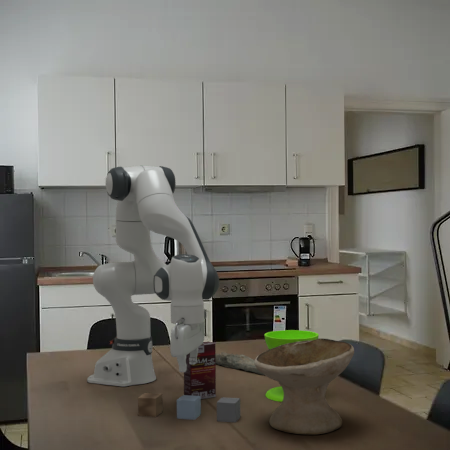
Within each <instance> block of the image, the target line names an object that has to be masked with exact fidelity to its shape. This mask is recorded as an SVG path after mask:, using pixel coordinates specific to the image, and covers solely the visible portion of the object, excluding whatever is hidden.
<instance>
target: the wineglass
mask: <svg viewBox="0 0 450 450" xmlns="http://www.w3.org/2000/svg"><path fill="white" fill-rule="evenodd" d="M319 335H320V334H319V333H318V332H316V331H309V330H298V329H296V330H295V329H288V330H287V329H285V330H283V329H282V330H274V331H273V330H272V331H268V332H266V333H264V335H263V336H264V341H265V343H266V346H267V350H269V349H272V348H275V347H278V346H280V345H283V344H287V343H293V342H299V341H306V340H309V341H311V340H316V339H319ZM265 398H267V399H268V400H271V401H273V402H280V403H282V401H283V398H284V392H283V388H282V386H281V385H280V386H275V387H273V388H269V389H268V390H267V391H266V393H265Z"/></svg>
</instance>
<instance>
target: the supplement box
mask: <svg viewBox="0 0 450 450" xmlns="http://www.w3.org/2000/svg"><path fill="white" fill-rule="evenodd" d="M216 350H217V349H216V343H214V342H212V341H203V344H202V345H200V346H199V347H198V354H197V363H196V364H194V365H193V364H192V365H191V364H189V358H190V353H189V354H187V355H186V364H187V371H186V372H183V395H191V396H201V400H203V399H210V398H216V397H217V385H216V384H217V379H216V377H217V374H216V372H217V371H216V369H217V367H216V365H217V364H216V354H217V353H216Z"/></svg>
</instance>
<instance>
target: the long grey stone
mask: <svg viewBox="0 0 450 450" xmlns="http://www.w3.org/2000/svg"><path fill="white" fill-rule="evenodd" d="M254 361H255V359H254V358H251V357H250V356H247V355H245V354H237V353H236V354H234V353H227V352H225V351H221V352H220V353H216V365H218V366H221V367H224V368H231V369H235V370H240V369H241V370H243V371H245V372H251V373H255V374H257V375H261V376H265V375H264V374H263V373H262V372H260V371H259V370H258V369H257V368H256V366H255V364H254Z"/></svg>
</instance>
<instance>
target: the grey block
mask: <svg viewBox="0 0 450 450" xmlns="http://www.w3.org/2000/svg"><path fill="white" fill-rule="evenodd" d="M240 418H241V398H240V397H222V396H221V398H219V399H218V400H217V402H216V421H217V422H224V423H237V422H238V421H239V420H240Z"/></svg>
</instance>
